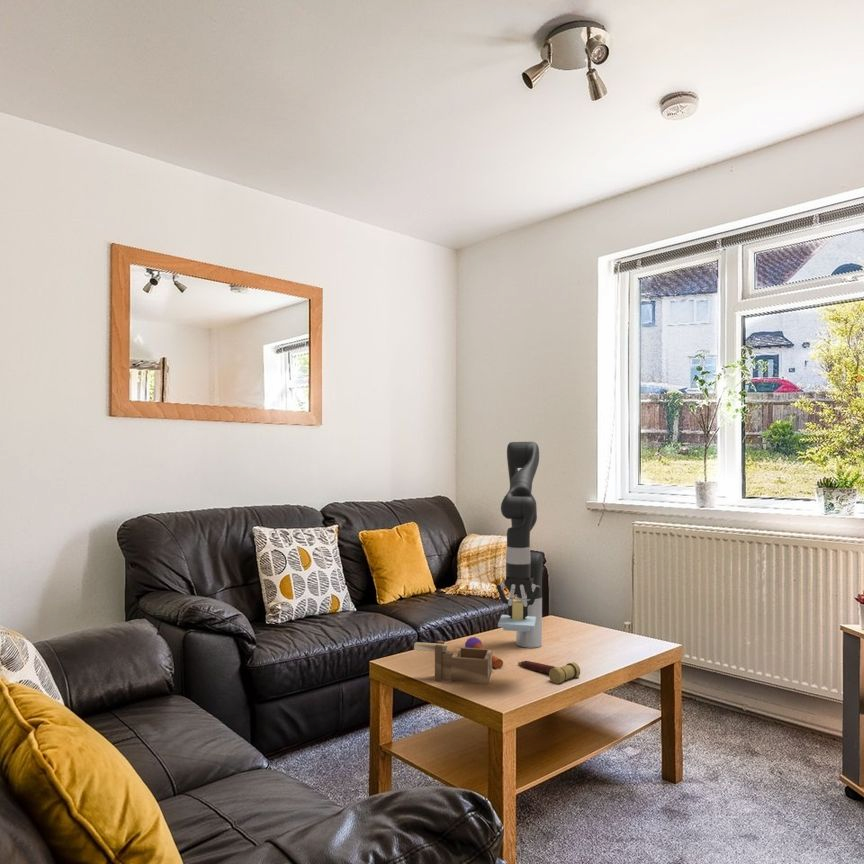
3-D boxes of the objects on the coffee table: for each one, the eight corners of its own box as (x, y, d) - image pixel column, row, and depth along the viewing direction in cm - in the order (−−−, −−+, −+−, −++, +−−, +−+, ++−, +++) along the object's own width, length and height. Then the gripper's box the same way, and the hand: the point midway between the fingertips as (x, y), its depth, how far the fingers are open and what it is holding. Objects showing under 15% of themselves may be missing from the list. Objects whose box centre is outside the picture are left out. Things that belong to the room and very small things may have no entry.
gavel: (507, 658, 216) (527, 653, 223) (508, 673, 216) (528, 667, 223) (560, 669, 201) (580, 663, 208) (561, 685, 201) (581, 678, 207)
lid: (501, 621, 210) (501, 598, 210) (536, 623, 208) (536, 600, 208) (497, 631, 199) (497, 606, 199) (533, 633, 196) (534, 608, 197)
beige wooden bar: (415, 648, 208) (415, 642, 209) (447, 650, 206) (447, 644, 206) (414, 650, 206) (414, 644, 206) (446, 652, 204) (446, 646, 204)
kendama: (489, 658, 214) (461, 637, 232) (491, 675, 215) (463, 654, 233) (505, 652, 216) (476, 632, 235) (507, 670, 217) (478, 649, 235)
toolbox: (442, 668, 215) (442, 634, 216) (492, 671, 212) (492, 637, 213) (434, 680, 203) (434, 645, 204) (487, 684, 200) (487, 648, 200)
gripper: (541, 560, 209) (541, 616, 208) (496, 558, 212) (496, 613, 211) (540, 564, 201) (540, 622, 201) (494, 562, 204) (493, 619, 204)
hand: (517, 617), depth 206 cm, fingers closed on lid, 3 cm apart
